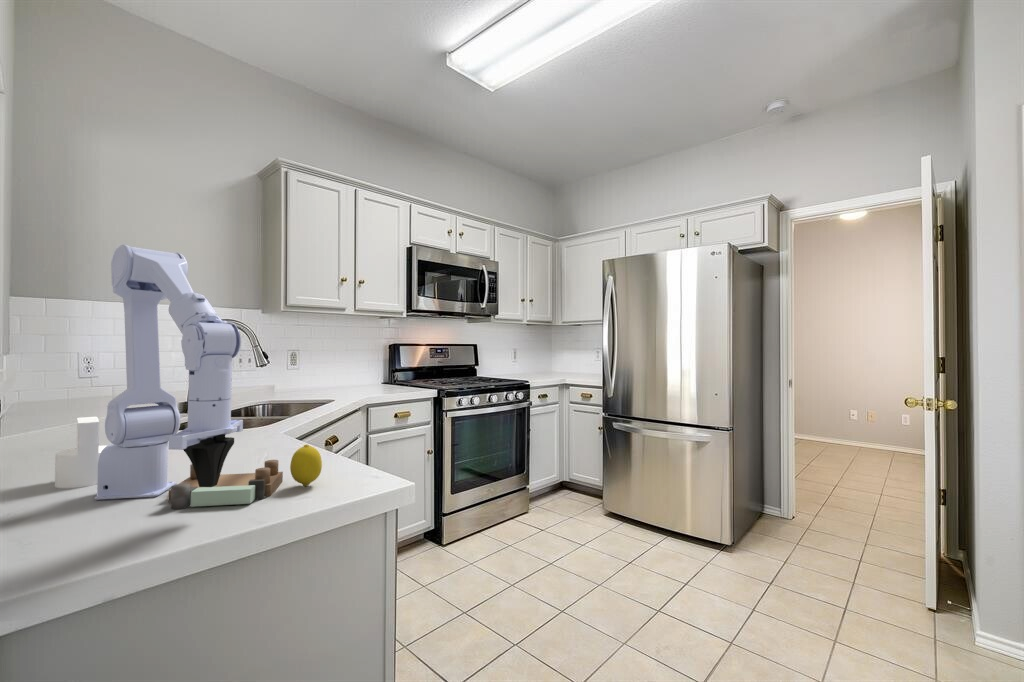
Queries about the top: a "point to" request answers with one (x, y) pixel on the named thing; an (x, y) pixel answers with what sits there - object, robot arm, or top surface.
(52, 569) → the top surface
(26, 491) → the top surface
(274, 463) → the stool seat
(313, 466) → the lemon
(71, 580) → the top surface
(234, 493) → the pale green bar
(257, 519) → the top surface
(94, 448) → the base with upright slab
